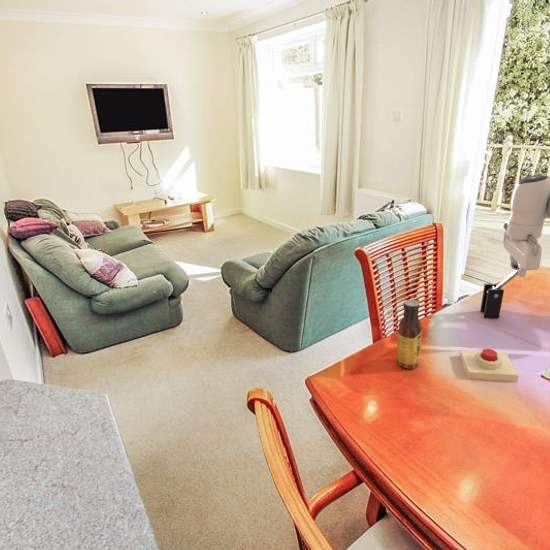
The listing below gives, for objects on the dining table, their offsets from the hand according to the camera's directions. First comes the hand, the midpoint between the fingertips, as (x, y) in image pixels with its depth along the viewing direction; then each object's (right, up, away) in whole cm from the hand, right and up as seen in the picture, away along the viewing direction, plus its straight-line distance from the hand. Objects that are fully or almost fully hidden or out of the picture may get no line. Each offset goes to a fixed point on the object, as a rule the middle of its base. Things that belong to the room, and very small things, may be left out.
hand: (517, 271), depth 119 cm
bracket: (-4, -16, +8) cm, 18 cm away
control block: (-18, -27, -15) cm, 36 cm away
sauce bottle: (-38, -27, -10) cm, 48 cm away
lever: (-2, -4, +2) cm, 5 cm away
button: (-18, -24, -16) cm, 34 cm away
